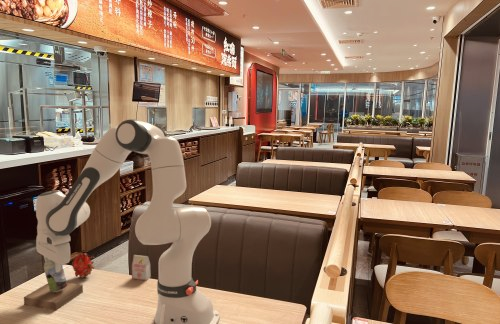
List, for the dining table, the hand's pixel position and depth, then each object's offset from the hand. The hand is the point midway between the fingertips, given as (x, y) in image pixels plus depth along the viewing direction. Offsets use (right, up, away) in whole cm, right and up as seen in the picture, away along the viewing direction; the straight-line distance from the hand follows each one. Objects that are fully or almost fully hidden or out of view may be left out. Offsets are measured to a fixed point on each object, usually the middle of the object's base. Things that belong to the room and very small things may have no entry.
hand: (53, 269), depth 139 cm
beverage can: (+1, -8, +1) cm, 8 cm away
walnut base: (0, -12, +2) cm, 12 cm away
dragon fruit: (+3, -9, +19) cm, 21 cm away
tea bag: (+27, -10, +20) cm, 35 cm away
